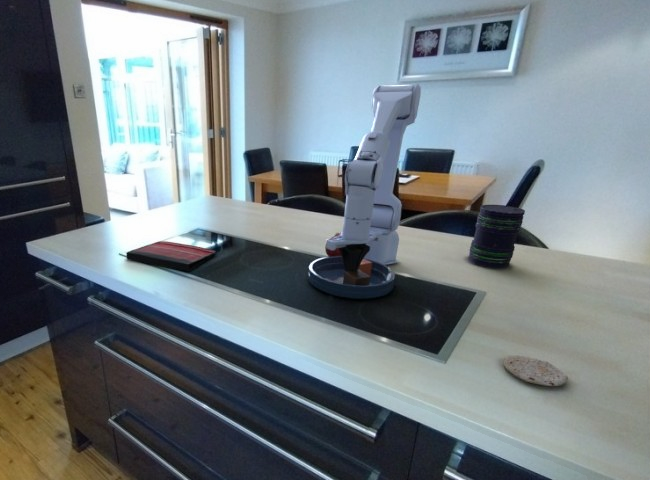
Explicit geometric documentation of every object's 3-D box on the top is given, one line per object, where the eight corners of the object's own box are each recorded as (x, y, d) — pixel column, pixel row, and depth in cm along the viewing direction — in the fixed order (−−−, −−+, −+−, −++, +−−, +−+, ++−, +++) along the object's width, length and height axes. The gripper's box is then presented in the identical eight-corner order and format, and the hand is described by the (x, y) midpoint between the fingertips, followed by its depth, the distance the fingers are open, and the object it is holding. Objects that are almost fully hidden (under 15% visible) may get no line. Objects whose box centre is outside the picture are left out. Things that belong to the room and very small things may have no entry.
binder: (188, 263, 100) (125, 251, 109) (188, 272, 100) (126, 259, 109) (218, 248, 113) (160, 239, 122) (218, 256, 114) (160, 246, 123)
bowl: (352, 264, 106) (354, 251, 104) (411, 291, 89) (413, 277, 88) (292, 275, 98) (293, 262, 97) (344, 307, 82) (346, 292, 81)
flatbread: (509, 381, 59) (511, 376, 59) (497, 354, 65) (498, 349, 65) (575, 394, 56) (577, 388, 56) (555, 365, 63) (557, 359, 62)
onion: (346, 264, 105) (349, 236, 102) (324, 263, 106) (327, 235, 103) (344, 257, 110) (347, 230, 107) (323, 256, 111) (326, 229, 108)
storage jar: (470, 266, 104) (483, 211, 98) (464, 254, 112) (477, 203, 107) (514, 271, 101) (531, 214, 95) (504, 259, 109) (520, 206, 103)
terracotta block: (358, 272, 99) (360, 257, 97) (370, 277, 95) (372, 262, 94) (346, 274, 97) (348, 259, 96) (357, 280, 94) (359, 264, 92)
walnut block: (356, 284, 91) (359, 269, 89) (367, 292, 87) (370, 276, 86) (341, 287, 90) (344, 271, 88) (352, 295, 86) (355, 278, 85)
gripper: (368, 209, 91) (360, 263, 96) (319, 216, 85) (314, 273, 90) (392, 216, 85) (383, 273, 90) (342, 224, 79) (334, 285, 84)
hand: (350, 274), depth 90 cm, fingers closed, pressing on walnut block
